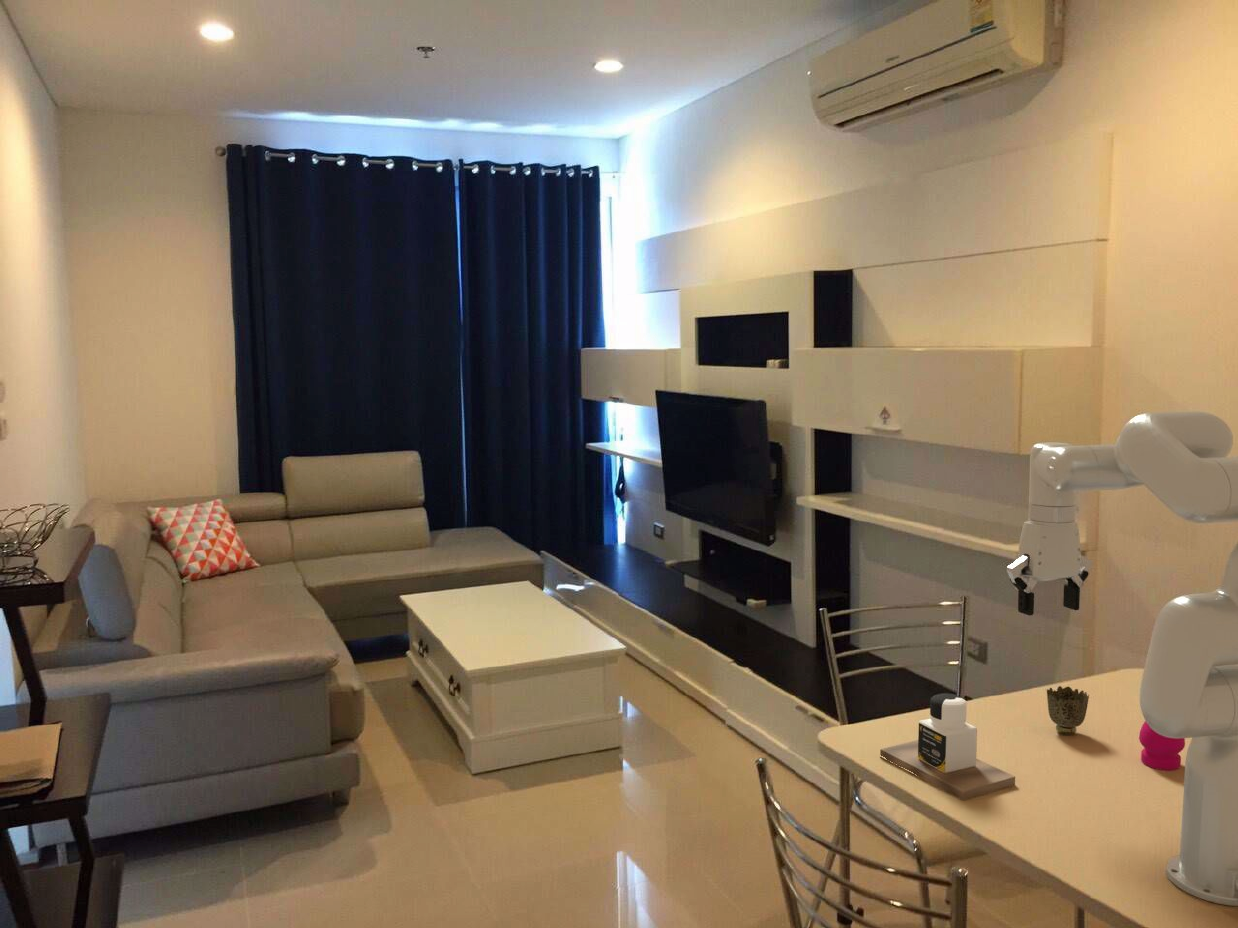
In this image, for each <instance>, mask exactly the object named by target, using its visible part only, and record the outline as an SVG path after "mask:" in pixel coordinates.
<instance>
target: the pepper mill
mask: <svg viewBox="0 0 1238 928" xmlns="http://www.w3.org/2000/svg"><path fill="white" fill-rule="evenodd" d="M1138 740H1139V742H1140V744H1141V745H1142V747H1143V749H1142V750H1141V753H1140V755H1141V756H1140V760H1141V761H1140V762H1142V764H1144V765H1146V766H1147V767H1150V768H1153V769H1157V770H1162V771H1174V770H1175V771H1176V770H1178V769H1179V768H1181V764H1182V763H1181V762H1182V756H1181V755H1180V754H1179V753H1181V752H1182V751H1183V750H1184V748H1185V746H1186V738H1169V737H1165V736H1162V735H1160V734H1158V733H1156V732H1155V731H1154V730H1152V729H1151V728H1150V726H1149V725H1148V724H1147V722H1146V721H1145V720H1144V721H1143V724H1142V725H1141V727H1140V730H1139V736H1138Z"/></svg>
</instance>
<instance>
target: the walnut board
mask: <svg viewBox="0 0 1238 928" xmlns="http://www.w3.org/2000/svg"><path fill="white" fill-rule="evenodd" d="M880 755H881V756H883V757H885V758H886V759H887V760H889V761H891V762H893V763H895V764H897V765H898V766H900V767H903V768H905V769H907V770H909V771H911V772H913V773H914V774H916V775H917V776H919V777H920V778H919V777H918V778H919V779H921V778H922V780H923V779H924V780H923V781H925V780H926V781H925V782H927V783H929V784H931V785H933V786H935V787H937V788H939V789H941V790H942V791H945V792H946V793H949V794H950V795H952V796H954V797H956V798H958V799H960V800H962V801H964V800H965V801H966V800H968V799H971V798H975V797H979V796H982V795H986V794H990V793H992V792H993V793H994V792H997V791H998V790H1002V789H1006V788H1010V787H1013V786H1015V785H1016V776H1015V775H1012V774H1011V773H1008V772H1007V771H1004V770H1002V769H1000V768H998V767H996V766H993V765H991V764H989V763H987V762H985V761H983V760H981V759H979V758H976V766H975V767H971V768H966V769H962V770H958V771H953V772H949V773H943V772H941V771H939V770H938V769H936V768H934V767H932V766H930V765H929V764H927V763H925V762H923V761H921V760H920V759H918V739H915V740H912V741H909V742H903V743H900V744H897V745H896V744H895V745H893V746H889V747H888V746H887V747H883V748H880V754H879V756H880ZM887 760H886V761H887ZM898 766H897V767H898ZM900 767H899V768H900ZM914 774H913V775H914ZM917 776H916V777H917Z"/></svg>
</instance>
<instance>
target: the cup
mask: <svg viewBox="0 0 1238 928" xmlns="http://www.w3.org/2000/svg"><path fill="white" fill-rule="evenodd" d="M1046 696H1047V697H1046V698H1047V708H1048V714H1049V718H1050V719H1051V721H1052V722H1053V723H1054V724H1055V725H1056V726H1055V729H1056V731H1057V732H1058V733H1059V734H1061V735H1064V736H1072V735H1075V734H1076V733H1077V729H1078V728H1077V727H1079V726H1081V725H1082V724H1083V723H1084V721H1085V720H1086V719H1085V718H1086V715H1087V710H1088V704H1089V699H1090V694H1087V691H1085V692H1084V690H1083V689H1082V690H1081V691H1080V692H1079V689H1078V688H1075V689H1074V690H1073V689H1072V688H1071V687H1070V686H1065V687H1062V686H1061V685H1058V687H1057V689H1056V690H1054V689H1053V688H1052V687H1049V689H1046Z"/></svg>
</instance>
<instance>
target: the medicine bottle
mask: <svg viewBox="0 0 1238 928" xmlns="http://www.w3.org/2000/svg"><path fill="white" fill-rule="evenodd" d="M929 703H930V704H929V705H930V706H929V718H927V719H921V720H919V721H918V733H917V734H918V739H917V740H918V759H920V760H921V761H923V762H925V763H927V764H929V765H930V766H932V767H934V768H936V769H938V770H939V771H941V772H943V773H949V772H953V771H958V770H962V769H966V768H971V767H975V766H976V759H977V748H978V746H977V745H978V742H977V741H978V728H977V727H976V726H974V725H972V724H970V723H967V709H968V708H967V706H968V703H967V701H966V699H964V697H961V696H959V695H957V694H955V693H954V694H952V693H946V692H945V693H939V694H935V695H933V696H932V697H931V698H930V701H929Z"/></svg>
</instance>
